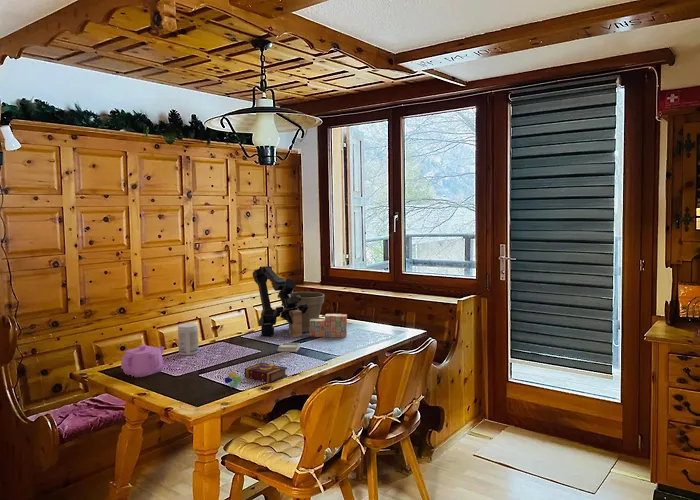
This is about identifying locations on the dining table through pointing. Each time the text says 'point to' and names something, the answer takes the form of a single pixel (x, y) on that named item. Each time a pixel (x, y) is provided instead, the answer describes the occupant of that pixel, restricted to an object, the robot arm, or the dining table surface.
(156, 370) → the teakettle
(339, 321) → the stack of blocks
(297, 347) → the cream square tray
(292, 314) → the walnut post
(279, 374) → the decorative book
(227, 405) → the dining table surface
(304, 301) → the plant pot
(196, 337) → the supplement tub
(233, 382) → the dice
